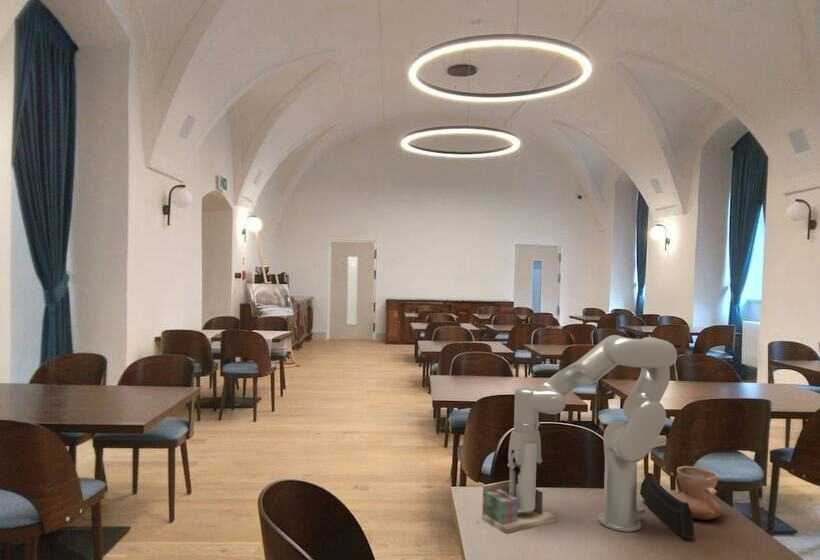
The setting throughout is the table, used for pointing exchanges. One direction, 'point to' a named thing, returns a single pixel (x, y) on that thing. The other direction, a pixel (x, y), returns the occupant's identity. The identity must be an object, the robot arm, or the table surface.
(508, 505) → the book rack
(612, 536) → the table surface
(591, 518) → the table surface
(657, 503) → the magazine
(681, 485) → the ceramic jug
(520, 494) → the paper towel roll
